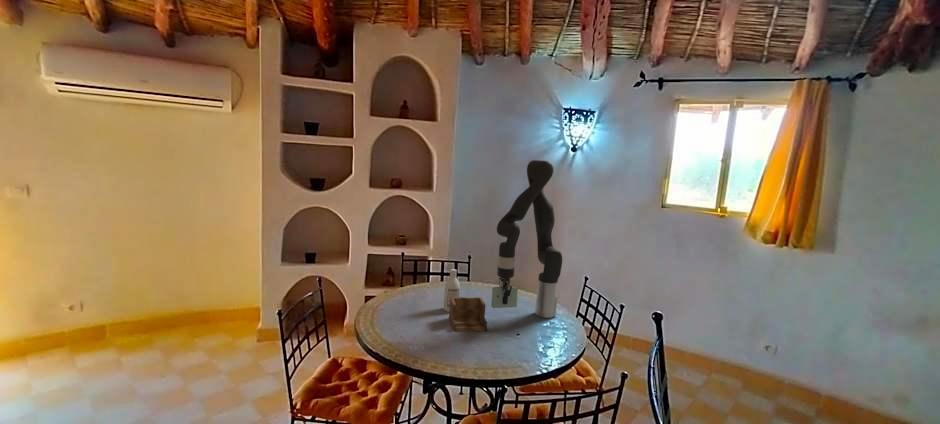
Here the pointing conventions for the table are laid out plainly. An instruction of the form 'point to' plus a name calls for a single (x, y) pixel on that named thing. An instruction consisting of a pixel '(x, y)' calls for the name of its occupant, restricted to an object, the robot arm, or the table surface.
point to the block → (498, 298)
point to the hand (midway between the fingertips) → (504, 302)
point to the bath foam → (451, 289)
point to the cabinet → (467, 314)
